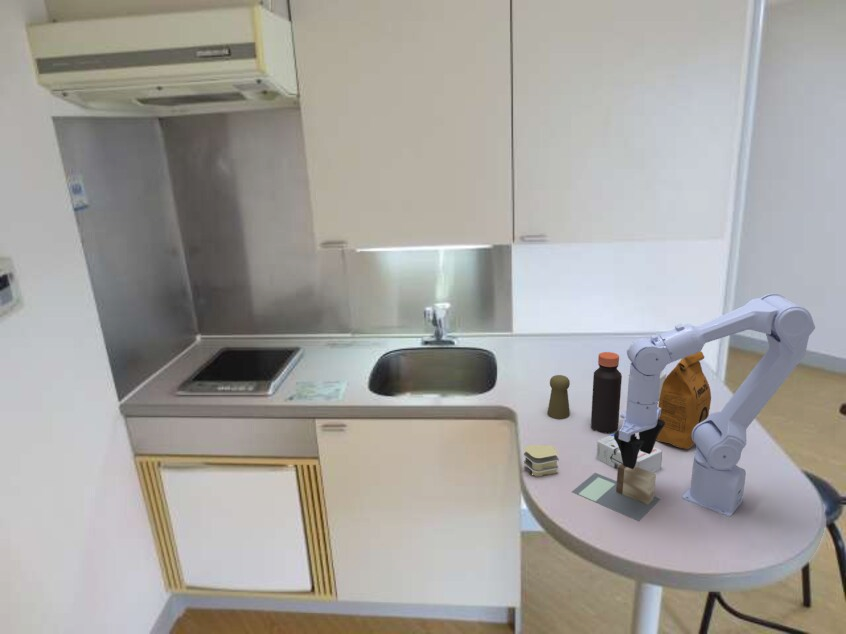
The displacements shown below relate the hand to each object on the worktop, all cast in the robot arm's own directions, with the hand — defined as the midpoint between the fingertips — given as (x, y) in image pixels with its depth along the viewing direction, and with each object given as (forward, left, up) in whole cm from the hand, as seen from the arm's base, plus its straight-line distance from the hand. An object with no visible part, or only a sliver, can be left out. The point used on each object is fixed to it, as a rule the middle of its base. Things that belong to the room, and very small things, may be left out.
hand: (637, 459), depth 122 cm
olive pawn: (+32, -23, -9) cm, 41 cm away
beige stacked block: (+20, +4, -10) cm, 23 cm away
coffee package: (+2, -31, -9) cm, 32 cm away
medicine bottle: (+19, -49, -9) cm, 53 cm away
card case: (0, 0, -9) cm, 9 cm away
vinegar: (+19, -24, -9) cm, 32 cm away
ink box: (+13, -12, -7) cm, 19 cm away
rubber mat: (+3, +2, -9) cm, 10 cm away
